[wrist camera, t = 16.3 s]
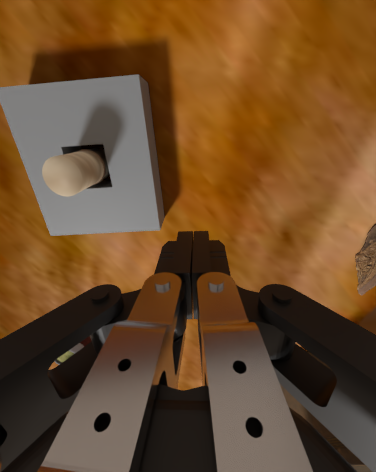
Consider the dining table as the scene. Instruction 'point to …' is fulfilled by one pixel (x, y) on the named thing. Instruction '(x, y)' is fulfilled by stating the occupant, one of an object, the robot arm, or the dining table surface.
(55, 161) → the peg
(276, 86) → the dining table surface
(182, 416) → the robot arm
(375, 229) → the wooden fragment
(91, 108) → the socket block
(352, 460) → the wooden container
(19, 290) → the dining table surface
